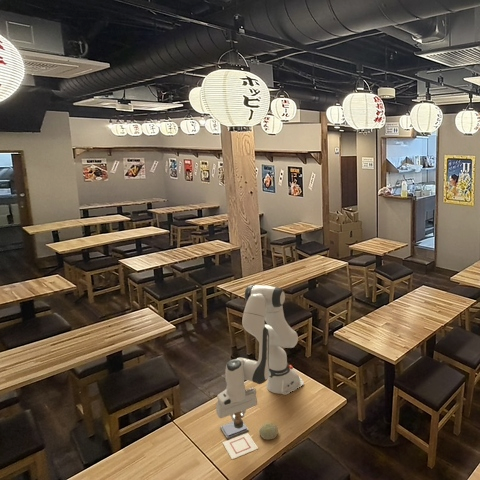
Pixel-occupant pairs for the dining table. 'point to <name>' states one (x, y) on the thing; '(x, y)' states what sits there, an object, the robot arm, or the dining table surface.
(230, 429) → the ink pad
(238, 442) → the sheet
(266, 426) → the sea urchin shell
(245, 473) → the dining table surface
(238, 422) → the stamp
